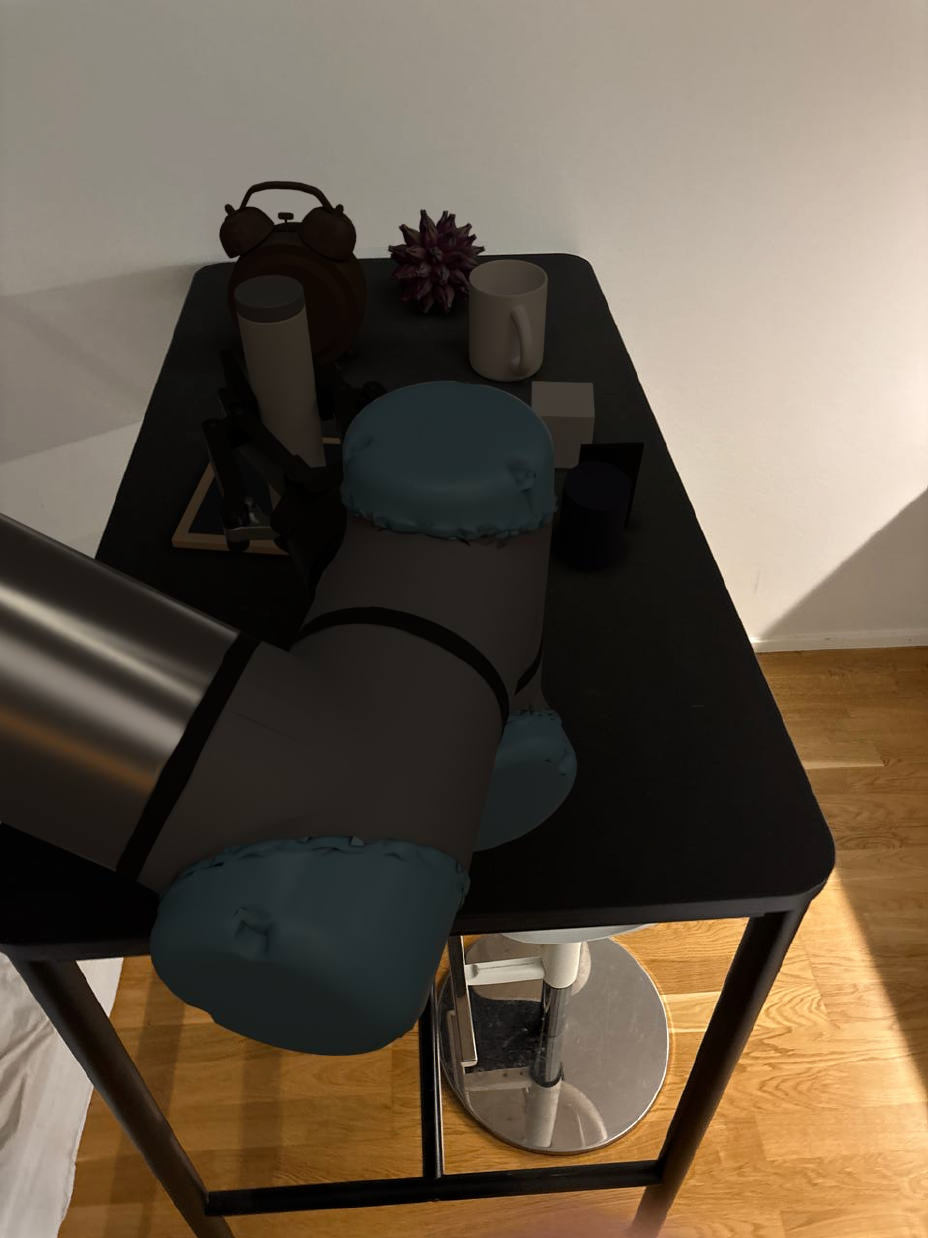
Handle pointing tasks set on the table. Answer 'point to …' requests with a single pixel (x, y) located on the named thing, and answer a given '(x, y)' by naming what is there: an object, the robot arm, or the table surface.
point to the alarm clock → (302, 264)
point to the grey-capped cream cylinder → (281, 364)
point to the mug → (507, 319)
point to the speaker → (597, 504)
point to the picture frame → (204, 508)
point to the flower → (435, 261)
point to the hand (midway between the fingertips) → (263, 360)
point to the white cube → (565, 417)
